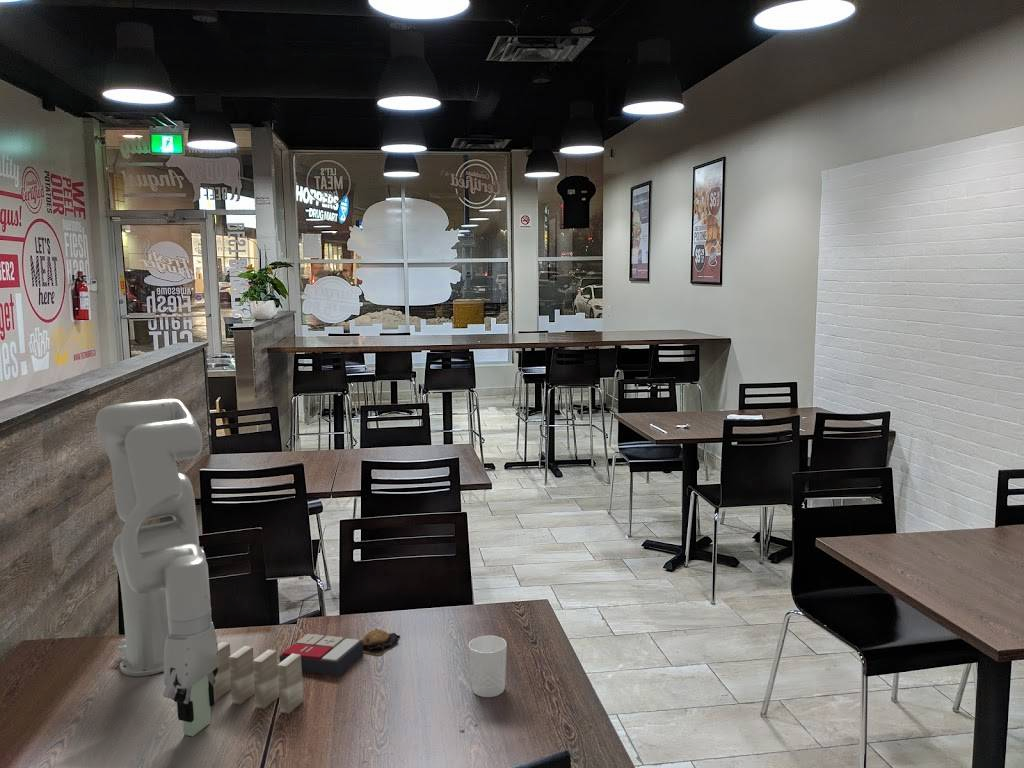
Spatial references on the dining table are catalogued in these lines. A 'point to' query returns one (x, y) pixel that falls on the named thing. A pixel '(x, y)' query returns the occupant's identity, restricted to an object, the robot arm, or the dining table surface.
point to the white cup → (488, 665)
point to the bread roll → (378, 642)
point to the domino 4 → (266, 679)
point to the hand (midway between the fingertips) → (196, 711)
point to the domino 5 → (290, 683)
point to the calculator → (325, 653)
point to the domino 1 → (198, 707)
